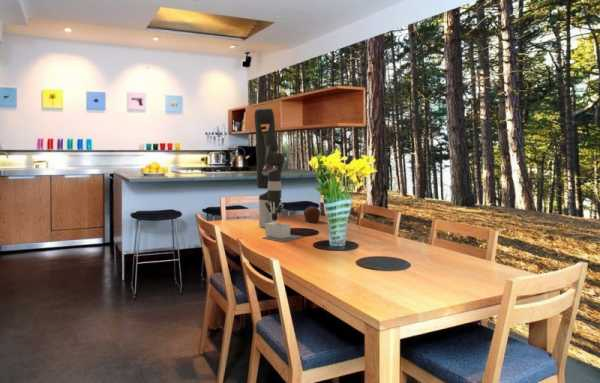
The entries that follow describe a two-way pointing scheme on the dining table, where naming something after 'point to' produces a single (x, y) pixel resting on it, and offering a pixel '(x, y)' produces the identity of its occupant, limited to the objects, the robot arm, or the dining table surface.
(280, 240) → the mat
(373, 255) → the dining table surface
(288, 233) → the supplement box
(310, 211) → the muffin
